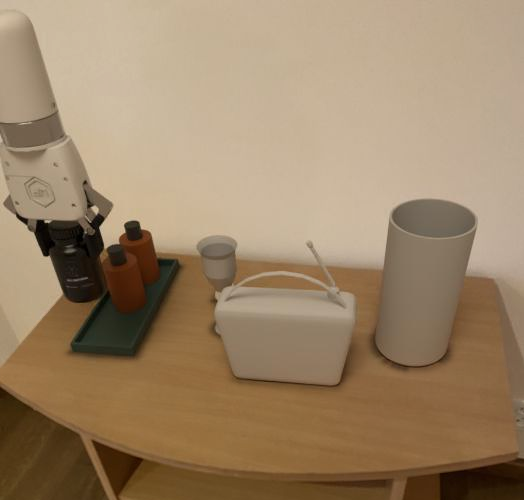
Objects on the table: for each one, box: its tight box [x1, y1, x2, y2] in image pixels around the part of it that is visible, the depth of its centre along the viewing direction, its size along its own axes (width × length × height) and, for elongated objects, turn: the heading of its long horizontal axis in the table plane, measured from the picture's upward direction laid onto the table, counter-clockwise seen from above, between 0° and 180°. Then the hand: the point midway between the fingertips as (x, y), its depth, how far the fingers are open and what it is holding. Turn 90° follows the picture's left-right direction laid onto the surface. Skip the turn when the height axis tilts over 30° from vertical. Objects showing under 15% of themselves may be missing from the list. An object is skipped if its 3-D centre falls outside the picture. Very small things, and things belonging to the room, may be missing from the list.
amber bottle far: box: [118, 219, 161, 286], centre depth 108 cm, size 7×7×13 cm
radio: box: [213, 239, 358, 387], centre depth 81 cm, size 22×8×25 cm, turn 80°
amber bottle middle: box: [101, 243, 147, 313], centre depth 101 cm, size 7×7×13 cm
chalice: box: [195, 234, 238, 335], centre depth 92 cm, size 7×7×18 cm
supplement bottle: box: [48, 220, 108, 304], centre depth 76 cm, size 7×7×12 cm
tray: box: [69, 257, 181, 357], centre depth 105 cm, size 30×12×2 cm, turn 171°
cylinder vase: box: [374, 198, 479, 367], centre depth 83 cm, size 12×12×25 cm
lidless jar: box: [214, 283, 235, 301], centre depth 105 cm, size 5×3×5 cm
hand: (73, 252), depth 75 cm, fingers closed on supplement bottle, 6 cm apart
